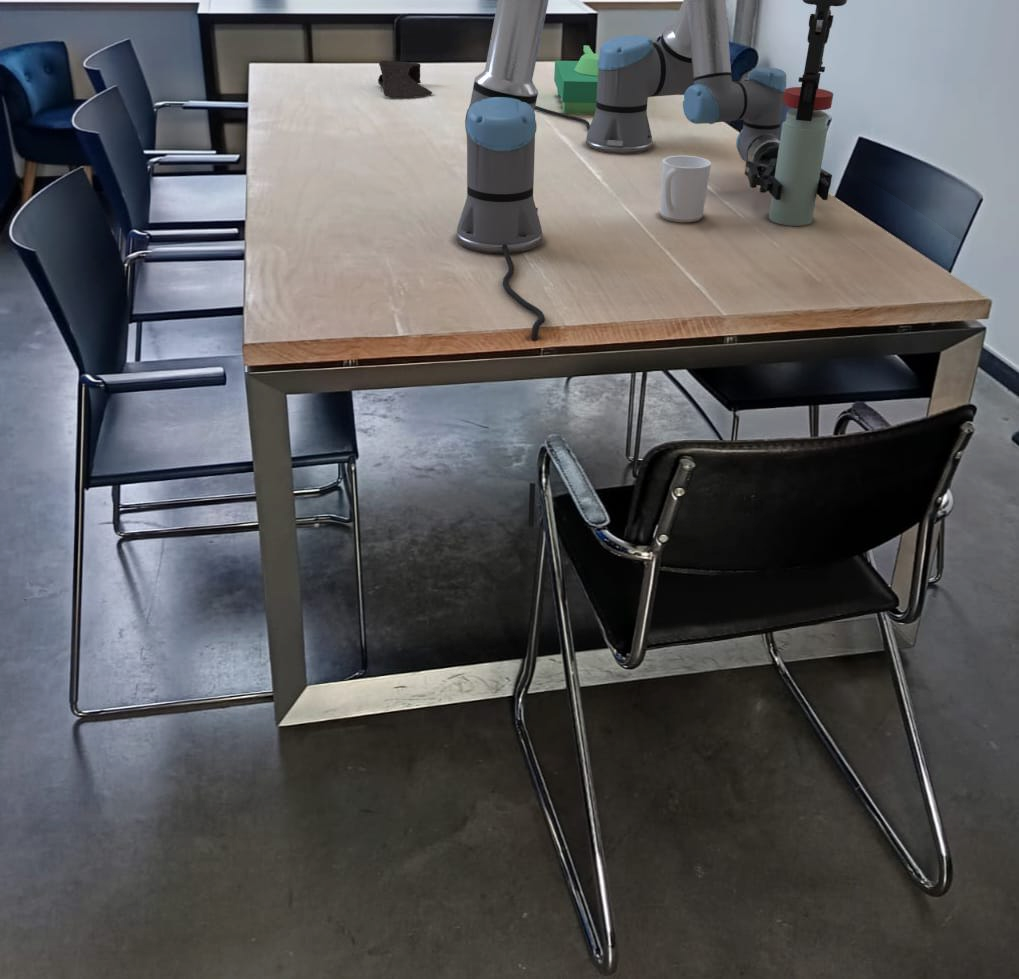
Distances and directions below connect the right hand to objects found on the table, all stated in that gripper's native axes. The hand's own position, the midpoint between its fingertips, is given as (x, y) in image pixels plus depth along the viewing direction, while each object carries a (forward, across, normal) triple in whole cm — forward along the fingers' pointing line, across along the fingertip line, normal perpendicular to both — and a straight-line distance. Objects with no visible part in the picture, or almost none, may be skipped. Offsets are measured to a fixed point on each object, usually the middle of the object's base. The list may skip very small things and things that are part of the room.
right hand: (802, 192), depth 202 cm
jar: (-5, 0, -6) cm, 8 cm away
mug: (-5, +22, -6) cm, 23 cm away
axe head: (-117, +77, -6) cm, 140 cm away
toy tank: (-105, +27, -6) cm, 108 cm away
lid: (-5, 0, +17) cm, 17 cm away
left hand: (-5, 0, +13) cm, 14 cm away
